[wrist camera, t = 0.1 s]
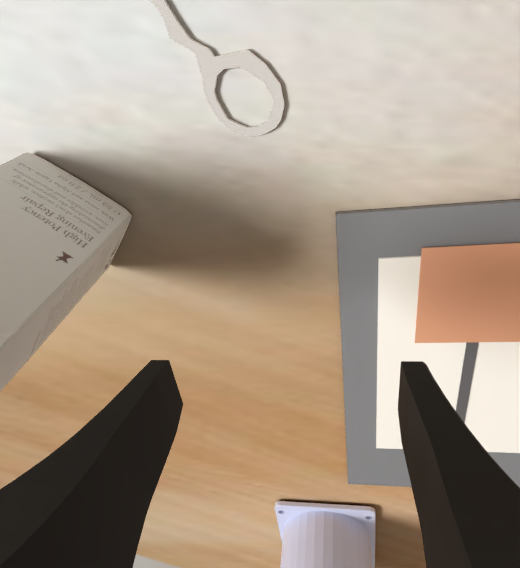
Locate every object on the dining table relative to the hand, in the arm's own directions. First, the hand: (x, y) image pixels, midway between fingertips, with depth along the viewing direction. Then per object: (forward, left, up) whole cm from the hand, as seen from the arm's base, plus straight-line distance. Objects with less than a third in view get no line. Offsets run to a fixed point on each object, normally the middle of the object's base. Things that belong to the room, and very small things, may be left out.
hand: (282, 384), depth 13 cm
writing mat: (-10, -9, -10) cm, 17 cm away
